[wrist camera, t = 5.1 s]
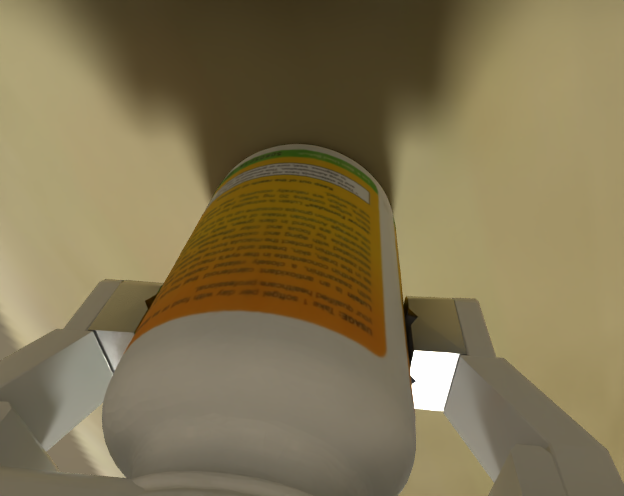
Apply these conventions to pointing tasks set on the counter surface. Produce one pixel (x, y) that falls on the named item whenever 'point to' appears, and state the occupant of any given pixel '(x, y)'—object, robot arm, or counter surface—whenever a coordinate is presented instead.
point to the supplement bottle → (273, 344)
